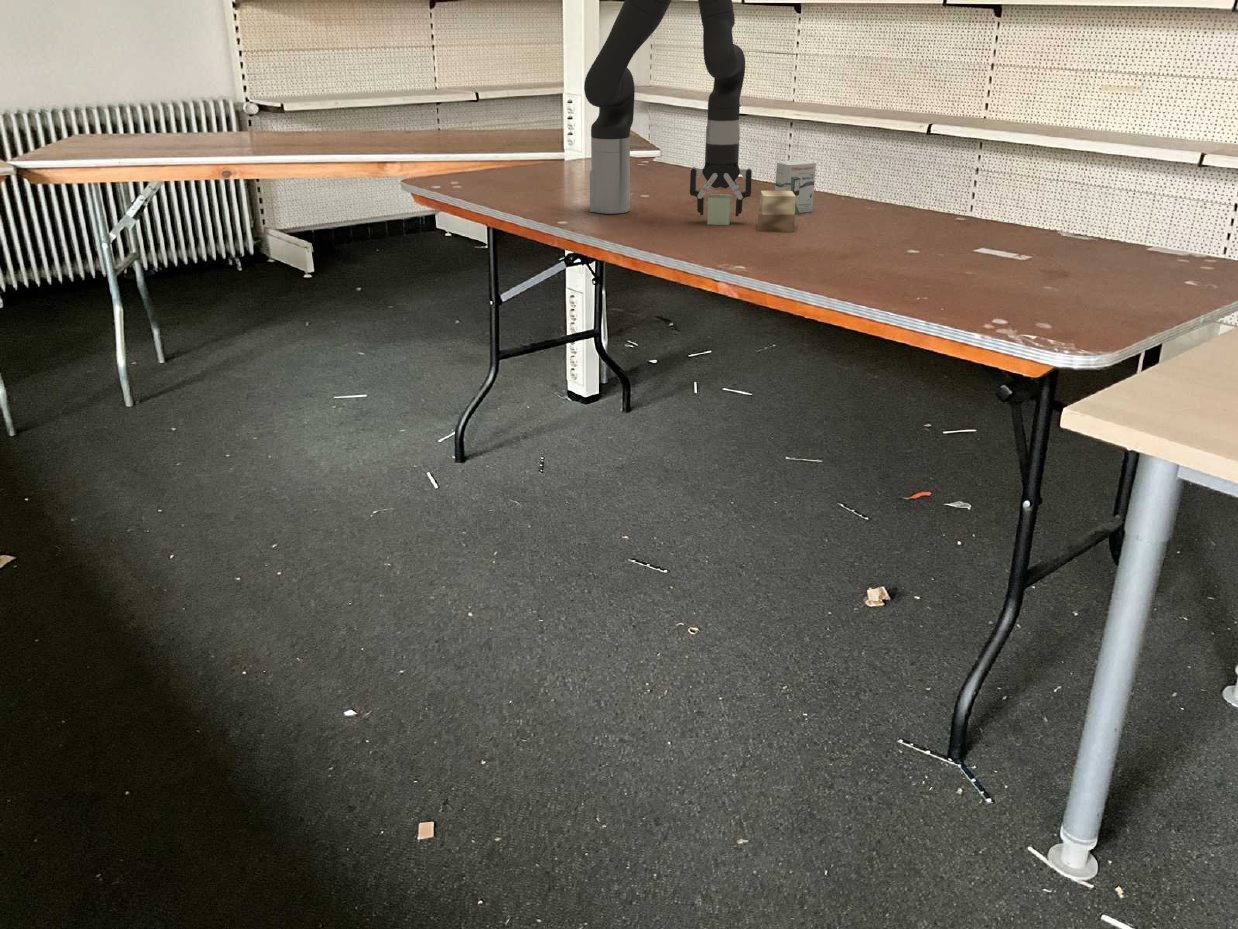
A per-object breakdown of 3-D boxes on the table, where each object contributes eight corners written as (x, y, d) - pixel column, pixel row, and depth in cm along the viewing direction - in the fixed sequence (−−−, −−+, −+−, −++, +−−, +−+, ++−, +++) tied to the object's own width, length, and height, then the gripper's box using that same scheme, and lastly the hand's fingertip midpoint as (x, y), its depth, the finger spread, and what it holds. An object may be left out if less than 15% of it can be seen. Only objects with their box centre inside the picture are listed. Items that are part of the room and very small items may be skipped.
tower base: (757, 232, 217) (758, 214, 215) (758, 225, 224) (759, 207, 222) (793, 233, 216) (795, 215, 214) (793, 226, 223) (795, 208, 221)
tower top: (762, 214, 215) (763, 195, 213) (759, 208, 221) (760, 190, 219) (794, 214, 214) (795, 196, 213) (790, 208, 221) (791, 190, 219)
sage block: (707, 224, 223) (708, 197, 221) (708, 220, 228) (709, 193, 225) (728, 225, 222) (730, 198, 220) (730, 220, 227) (731, 194, 224)
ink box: (784, 215, 233) (788, 163, 228) (772, 211, 237) (775, 161, 232) (813, 211, 237) (817, 161, 232) (800, 208, 241) (803, 158, 236)
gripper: (689, 142, 215) (687, 217, 222) (754, 143, 213) (750, 219, 220) (692, 138, 222) (690, 211, 229) (755, 139, 220) (751, 212, 227)
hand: (719, 215), depth 224 cm, fingers open, 7 cm apart
